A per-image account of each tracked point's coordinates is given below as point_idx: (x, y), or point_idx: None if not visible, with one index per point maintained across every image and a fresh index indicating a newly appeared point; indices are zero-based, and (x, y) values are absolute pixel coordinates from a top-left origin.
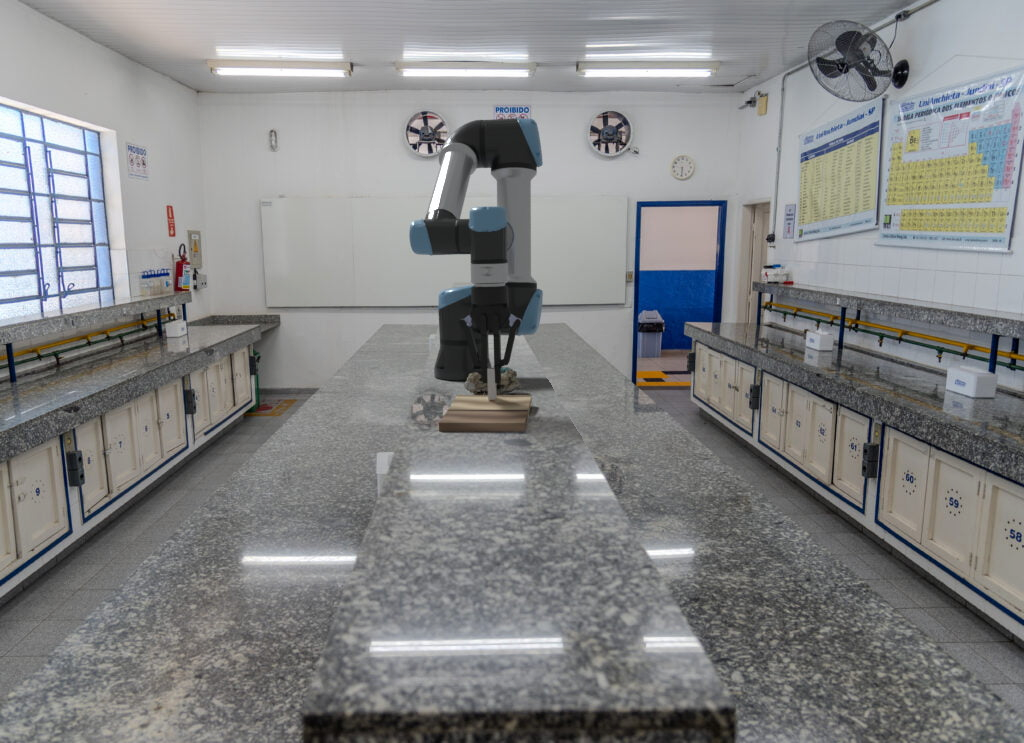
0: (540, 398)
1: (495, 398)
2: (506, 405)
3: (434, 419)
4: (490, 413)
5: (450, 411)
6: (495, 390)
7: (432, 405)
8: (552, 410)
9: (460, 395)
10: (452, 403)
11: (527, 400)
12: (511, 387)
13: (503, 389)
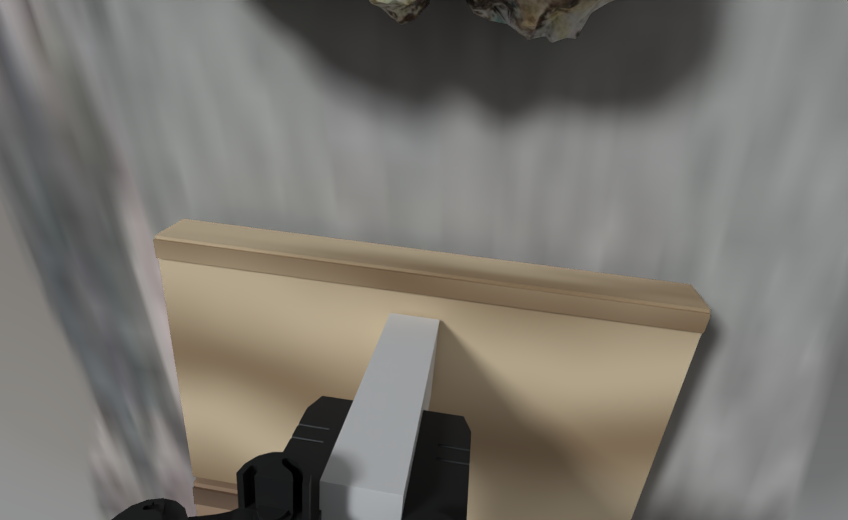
0: (818, 35)
1: (432, 378)
2: (500, 473)
3: (160, 466)
4: None
5: (213, 512)
6: (427, 403)
7: (50, 189)
8: (788, 403)
9: (182, 252)
10: (182, 391)
11: (650, 412)
12: (583, 19)
13: (502, 16)
